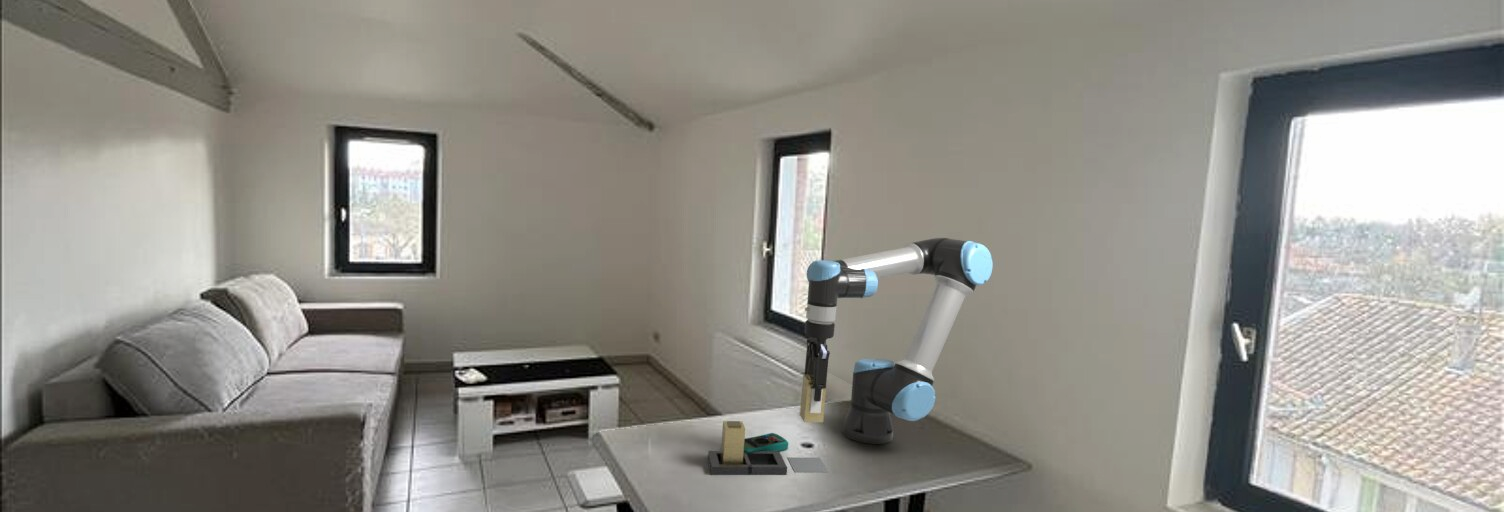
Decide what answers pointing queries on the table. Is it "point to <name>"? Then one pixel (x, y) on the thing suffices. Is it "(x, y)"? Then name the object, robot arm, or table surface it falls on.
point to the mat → (807, 465)
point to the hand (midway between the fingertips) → (812, 408)
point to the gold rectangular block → (732, 443)
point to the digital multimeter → (765, 443)
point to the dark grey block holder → (749, 464)
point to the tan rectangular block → (806, 401)
